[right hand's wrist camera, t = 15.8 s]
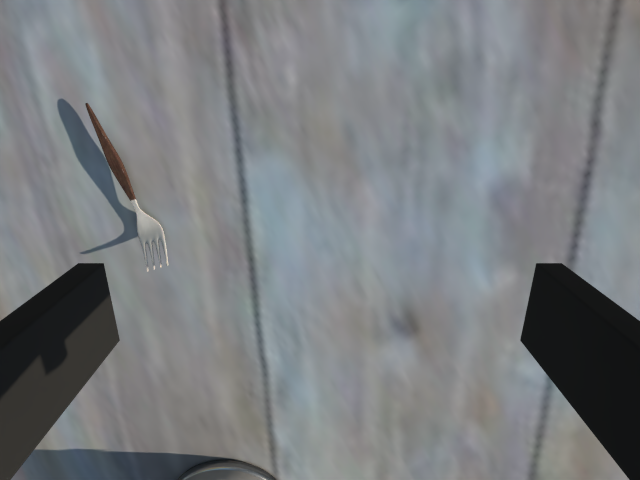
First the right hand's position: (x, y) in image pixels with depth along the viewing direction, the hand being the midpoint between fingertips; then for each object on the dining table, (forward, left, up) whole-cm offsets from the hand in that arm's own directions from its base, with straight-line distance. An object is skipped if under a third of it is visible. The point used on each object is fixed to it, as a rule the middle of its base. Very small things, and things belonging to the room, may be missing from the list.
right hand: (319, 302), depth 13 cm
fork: (-17, +7, -27) cm, 33 cm away
